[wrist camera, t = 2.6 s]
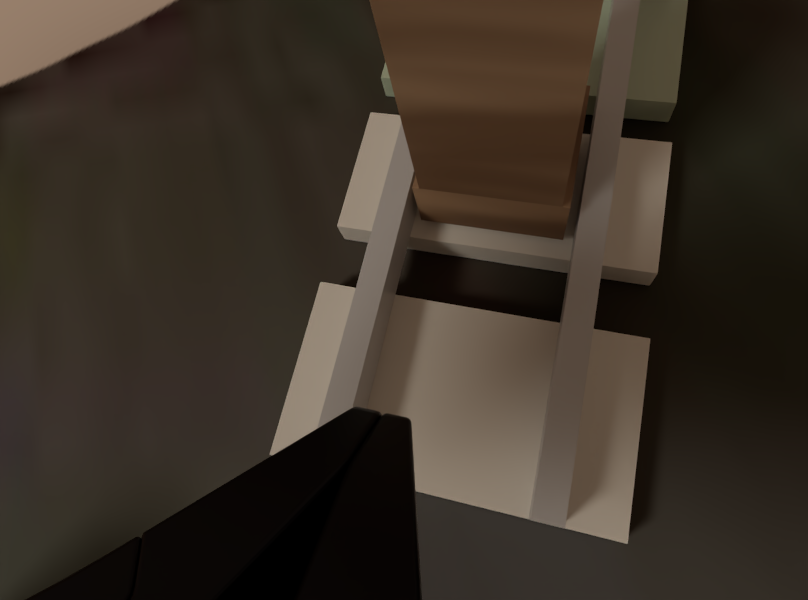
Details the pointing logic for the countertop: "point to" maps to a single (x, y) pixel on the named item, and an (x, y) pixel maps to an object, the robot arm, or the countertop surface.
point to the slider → (491, 105)
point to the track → (504, 333)
